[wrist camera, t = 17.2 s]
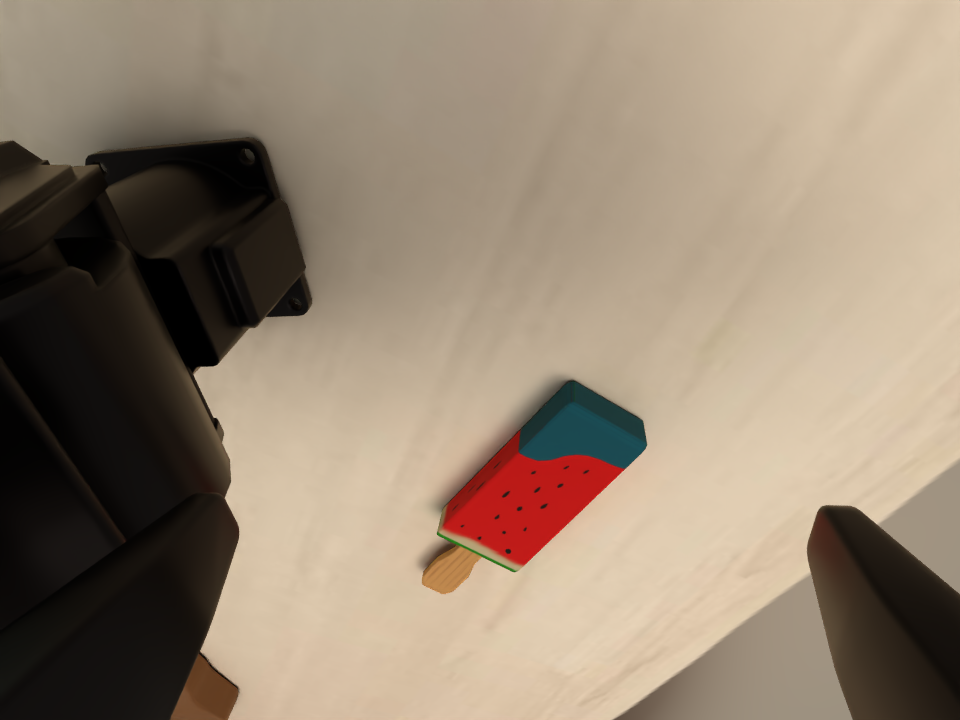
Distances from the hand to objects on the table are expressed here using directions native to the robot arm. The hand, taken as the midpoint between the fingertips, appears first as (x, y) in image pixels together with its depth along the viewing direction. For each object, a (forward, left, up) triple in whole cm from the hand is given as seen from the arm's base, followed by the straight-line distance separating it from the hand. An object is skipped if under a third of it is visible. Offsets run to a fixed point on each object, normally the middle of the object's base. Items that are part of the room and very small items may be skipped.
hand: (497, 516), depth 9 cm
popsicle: (-2, -14, -13) cm, 19 cm away
